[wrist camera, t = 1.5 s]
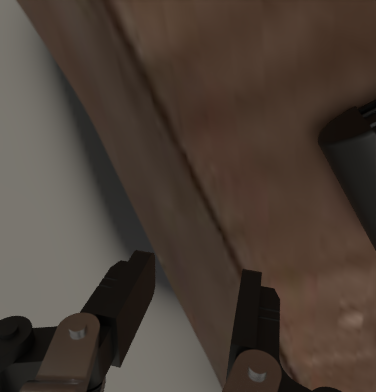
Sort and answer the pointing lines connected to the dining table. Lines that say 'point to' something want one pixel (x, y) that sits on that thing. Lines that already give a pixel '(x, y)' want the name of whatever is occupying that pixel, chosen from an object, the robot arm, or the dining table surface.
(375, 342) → the dining table surface
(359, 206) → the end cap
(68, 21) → the dining table surface
